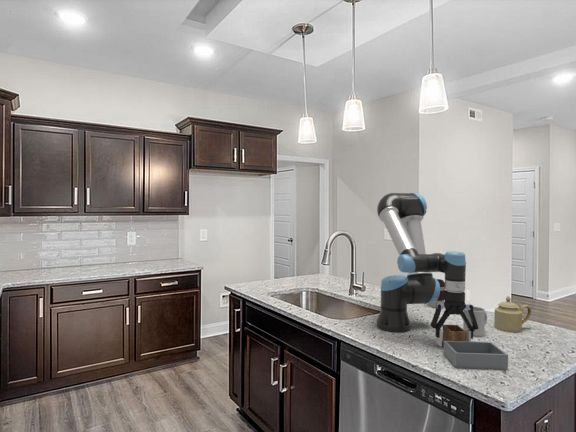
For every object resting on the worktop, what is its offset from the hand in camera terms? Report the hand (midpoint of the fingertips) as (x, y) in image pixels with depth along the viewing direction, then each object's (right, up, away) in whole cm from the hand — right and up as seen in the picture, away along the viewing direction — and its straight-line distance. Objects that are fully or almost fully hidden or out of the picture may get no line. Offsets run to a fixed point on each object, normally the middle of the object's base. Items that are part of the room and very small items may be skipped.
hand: (453, 346), depth 152 cm
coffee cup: (+17, +1, +62) cm, 64 cm away
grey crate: (+1, -1, -14) cm, 15 cm away
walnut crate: (0, 0, 0) cm, 0 cm away
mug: (+17, 0, +17) cm, 24 cm away
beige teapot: (+37, 0, +24) cm, 44 cm away
